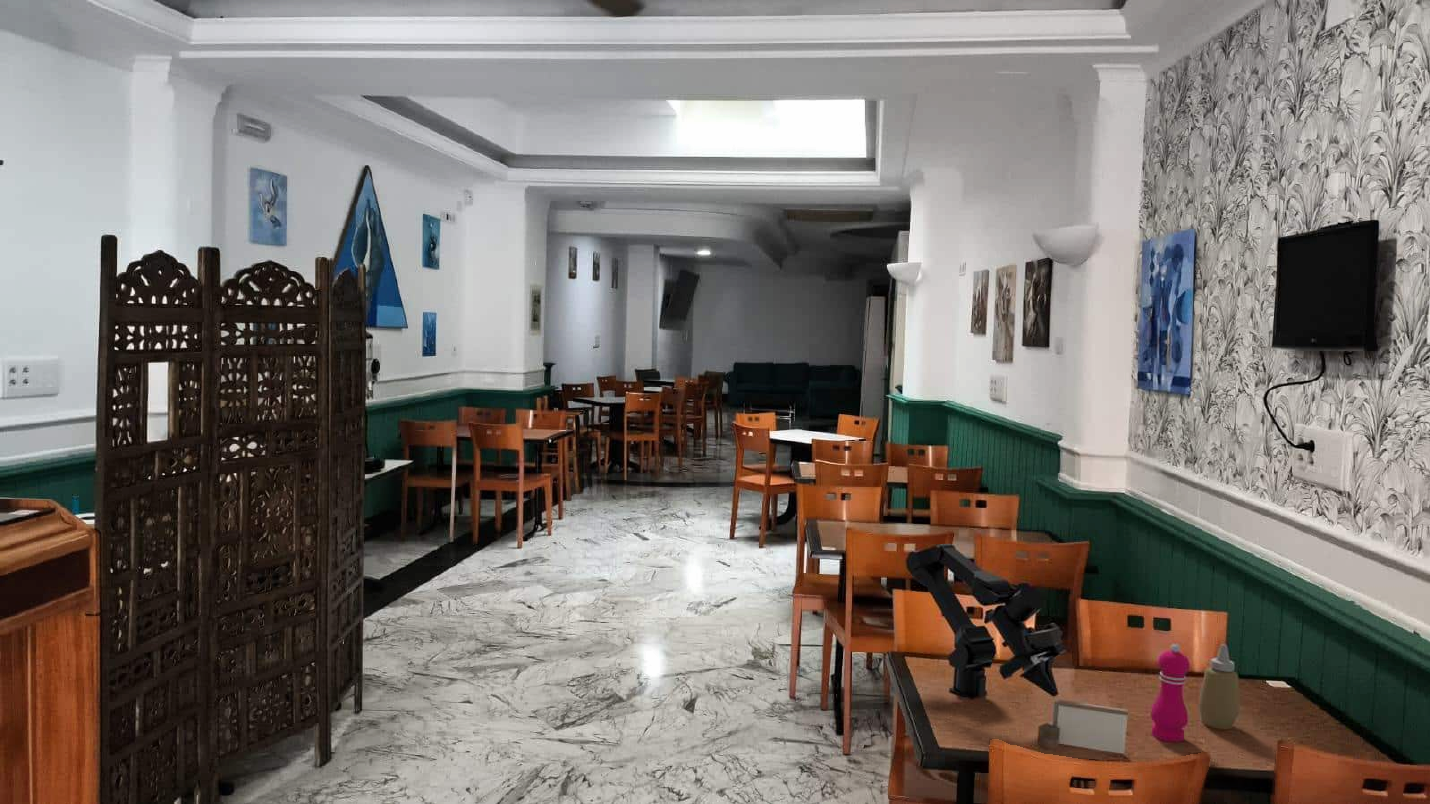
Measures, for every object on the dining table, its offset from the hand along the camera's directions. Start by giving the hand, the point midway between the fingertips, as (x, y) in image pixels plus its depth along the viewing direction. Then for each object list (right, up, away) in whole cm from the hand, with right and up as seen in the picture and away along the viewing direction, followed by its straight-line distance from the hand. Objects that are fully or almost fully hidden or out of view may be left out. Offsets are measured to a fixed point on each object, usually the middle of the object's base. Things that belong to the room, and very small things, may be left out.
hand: (1056, 695), depth 210 cm
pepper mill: (+24, -9, 0) cm, 25 cm away
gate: (+3, -8, -9) cm, 12 cm away
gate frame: (+1, -8, -3) cm, 8 cm away
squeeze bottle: (+38, -9, +7) cm, 40 cm away
